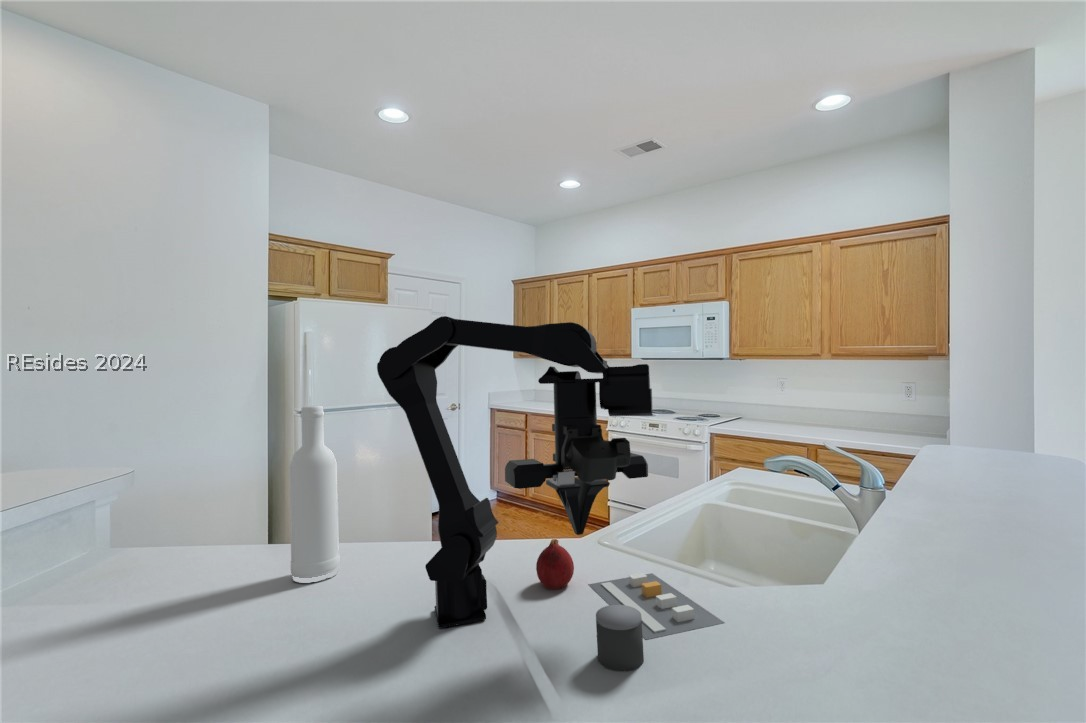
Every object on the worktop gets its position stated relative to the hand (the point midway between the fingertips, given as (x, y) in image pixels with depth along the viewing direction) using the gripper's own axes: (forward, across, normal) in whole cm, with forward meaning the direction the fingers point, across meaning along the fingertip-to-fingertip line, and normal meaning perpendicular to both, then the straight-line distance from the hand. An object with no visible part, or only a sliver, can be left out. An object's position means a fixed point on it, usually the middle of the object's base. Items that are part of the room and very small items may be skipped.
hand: (578, 534), depth 66 cm
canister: (+12, 0, -12) cm, 16 cm away
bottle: (+13, -36, +36) cm, 52 cm away
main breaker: (+10, +12, +2) cm, 16 cm away
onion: (+12, 0, +11) cm, 16 cm away
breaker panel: (+12, +10, 0) cm, 15 cm away
